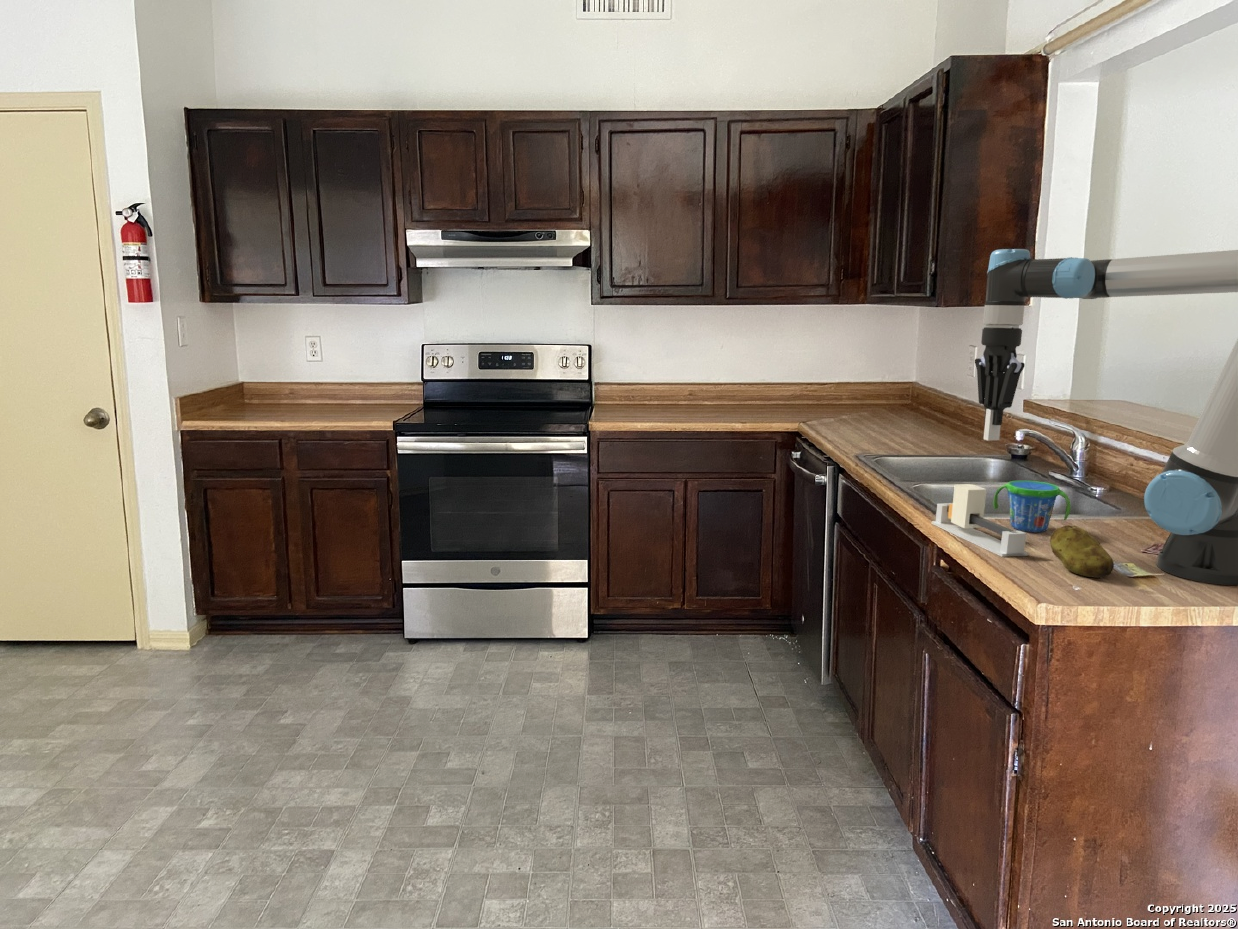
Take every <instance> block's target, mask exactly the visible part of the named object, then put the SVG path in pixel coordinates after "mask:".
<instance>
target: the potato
mask: <svg viewBox="0 0 1238 929" xmlns="http://www.w3.org/2000/svg"><path fill="white" fill-rule="evenodd" d="M1049 544H1050V545H1049V546H1050V548H1051V550H1052V553H1053V554H1054V555H1055V557H1056V558H1057V559H1058V560H1060V561H1061V564H1063V567H1064V568H1065V569H1066V570H1068V571H1070V572H1072V573H1074V574H1076V575H1080V576H1082V577H1088V578H1094V579H1101V578H1105V577H1108V576H1110V575H1111V574H1112V572H1113V569H1114V567H1115V564H1114V560H1113V557H1112V556H1111V555H1110V553H1108V551H1107V550H1105V549H1106V548H1104V547H1103V546H1102V545H1101V542H1099V541H1098V540H1097V539H1096V538H1094V536H1092V535H1091V534H1090V533H1089V532H1088V531H1087V530H1085V529H1084V528H1081V527H1078V526H1076V525H1063V526H1060V527H1058V528H1055V529H1054V530H1053V532H1051V535H1050V539H1049Z"/></svg>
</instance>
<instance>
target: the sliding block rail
mask: <svg viewBox="0 0 1238 929" xmlns="http://www.w3.org/2000/svg"><path fill="white" fill-rule="evenodd" d="M952 506H953V502H948V503H947V502H945V503H944V502H943V503H942V502H941V503H936V513H935V520H931V525H933V526H935V527H938V528H940V529H942V530H944V531H946V532H948V533H950V534H952V535H954V536H957V537H959V538H960V539H963V540H965V541H968V542H969V543H972V544H973V545H976V546H978V547H980V548H982V549H985V550H987V551H989V552H991V553H992V554H995V555H998V556H999V557H1002V558H1005V557H1006V558H1007V557H1026V556H1029V552H1028V551H1025V548H1026V547H1025V546H1026V541H1027V540H1026V539H1027V533H1026V532H1025V531H1021V530H1013V529H1010V528H1008V527H1005V525H1004V526H1003V525H1001V524H999V523H996V522H994V521H991V520H990V519H986V518H985V517H983V518H982V517H980V516H977V515H975V514H970V519H969V521H970V522H972V523H974V524H977V525H979V526H981V528H984V529H986V530H989V531H990V532H993V533H994V534H997V535H1000V536H1001V540H1000V539H998V538H996V537H994V536H991V535H990V534H987V533H985V532H983V531H981V530H977V529H976V528H963V527H961V526H958V525H956V524H954V523H952V522H951V516H952Z"/></svg>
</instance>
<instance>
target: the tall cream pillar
mask: <svg viewBox="0 0 1238 929" xmlns="http://www.w3.org/2000/svg"><path fill="white" fill-rule="evenodd" d="M986 498H987V489H986V488H985V487H984V488H983V487H981V486H978V485H976V484H969V483H968V484H965V483H964V484H963V483H962V484H954V488H953V496H952V499H953V500H952V503H953V506H952V516H951V522H952V523H954V524H956V525H958V526H961V527H963V528H974V529H976V528H977V529H979V528H980V529H981V528H982V527H981V526H979V525H977V524H974V523H972V522H970V521H969V519H970V514H975V515H977V516H980V517H982V518H985V517H984V515H985V508H986V507H985V506H986V500H987V499H986Z"/></svg>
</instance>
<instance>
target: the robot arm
mask: <svg viewBox="0 0 1238 929" xmlns="http://www.w3.org/2000/svg"><path fill="white" fill-rule="evenodd" d="M989 256H990V257H989V261H988V262H989V263H988V269H987V272H986V274H987V280H986V294H985V295H986V296H985V302H984V307H983V308H984V309H983V317H982V318H983V320H982V324H983V325H985V327H983V328H982V330H981V331H982V332H981V340H980V341H981V345H982V346H985V348H984V351H983V355H982V356H981V357H980V358H975V359H974V365H975V368H976V375H977V376H976V377H977V378H976V379H977V390H978V392H977V394H978V404H980V405H983V407H984V409H985V412H984V429H983V440H984V441H987V442H989V441H1000V437H1001V426H1002V424H1003V416H1004V410H1006V409H1008V408H1012V407H1013V406H1012V405H1013V403H1014V398H1015V396H1016V395H1015V394H1016V391H1017V389H1018V388H1017V387H1018V384H1019V380H1020V377H1021V374H1022V372H1023V371H1024V368H1025V363H1024V362H1020V361H1019V360H1018V357H1017V355H1018V354H1017V348H1018V347H1020V346H1021V343H1022V336H1023V330H1022V328H1021V327H1020V326H1023V324H1024V314H1025V304H1026V300H1027V298H1044V299H1045V298H1050V299H1051V298H1052V299H1082V300H1096V299H1101V298H1103V299H1104V298H1120V297H1122V298H1123V297H1124V298H1125V297H1127V298H1128V297H1143V296H1144V297H1147V296H1148V297H1149V296H1172V295H1173V296H1176V295H1178V296H1179V295H1201V294H1202V295H1203V294H1226V293H1238V249H1231V250H1230V249H1229V250H1219V251H1218V250H1217V251H1206V252H1205V251H1204V252H1194V253H1193V252H1189V253H1178V254H1165V255H1149V256H1137V257H1136V256H1135V257H1124V258H1123V257H1122V258H1113V259H1112V258H1111V259H1095V260H1090V259H1088V258H1084V257H1083V258H1082V257H1062V258H1042V259H1041V258H1040V259H1039V258H1038V259H1036V258H1032V257H1031V252H1030V251H1029V249H1025V248H1014V249H1013V248H1008V249H1007V248H1005V249H1004V248H1002V249H995V250H993V251H992V252H991V254H990V255H989ZM1236 339H1237V340H1236V341H1235V343H1234V345H1233V347H1232V349H1231V352H1230V353H1229V356H1228V357H1227V359H1226V362H1225V364H1224V366H1223V368H1222V370H1221V372H1220V374H1219V375H1218V376H1219V377H1218V378H1217V381H1216V382H1215V384H1214V386H1213V388H1212V390H1211V393H1210V395H1209V396H1208V399H1207V401H1206V403H1205V405H1204V407H1203V409H1202V412H1201V414H1200V415H1199V418H1198V420H1197V422H1196V424H1195V426H1194V428H1193V430H1192V431H1191V434H1190V436H1189V438H1188V440H1187V442H1186V443H1185V444H1181V445H1178V446H1177V447H1174V448H1173V449H1172V451H1171V454H1170V456H1169V457H1168V460H1167V461H1166V464H1165V465H1164V466H1163V469H1162V471H1161V473H1158V474H1157V475H1156V476H1155V477H1154V478H1152V480H1151V481H1150V482H1149V483H1148V485H1147V486H1146V489H1145V491H1144V495H1143V496H1144V497H1143V502H1144V507H1145V510H1146V512H1147V514H1148V516H1149V518H1150V519H1151V520H1152V521H1153V522H1154V523H1155V524H1156V525H1157V526H1158V527H1159V528H1161V529H1163V530H1164V531H1167V532H1169V535H1168V537H1167V538H1166V540H1165V543H1164V544H1163V546H1162V549H1160V551H1159V552H1158V555H1157V559H1156V560H1157V561H1156V566H1157V568H1158V569H1160V570H1162V571H1163V572H1166V573H1167V574H1170V575H1173V576H1176V577H1179V578H1182V579H1185V580H1191V581H1196V582H1201V583H1206V584H1207V583H1208V584H1213V585H1224V586H1225V585H1227V586H1238V338H1236Z"/></svg>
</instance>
